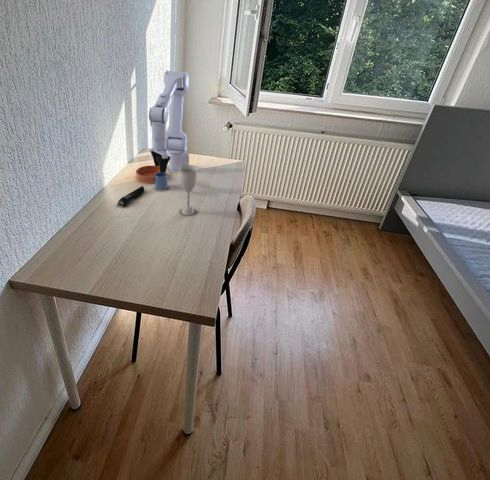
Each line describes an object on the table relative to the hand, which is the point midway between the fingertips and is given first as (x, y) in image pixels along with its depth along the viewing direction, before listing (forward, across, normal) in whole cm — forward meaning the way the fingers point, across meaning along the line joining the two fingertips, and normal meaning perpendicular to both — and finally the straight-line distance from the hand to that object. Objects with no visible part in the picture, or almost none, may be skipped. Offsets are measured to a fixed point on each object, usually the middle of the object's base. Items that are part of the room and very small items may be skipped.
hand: (160, 169), depth 150 cm
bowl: (+9, -11, -1) cm, 14 cm away
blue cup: (+9, +1, 0) cm, 9 cm away
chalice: (+9, +25, +3) cm, 27 cm away
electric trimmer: (+9, +7, -15) cm, 19 cm away
